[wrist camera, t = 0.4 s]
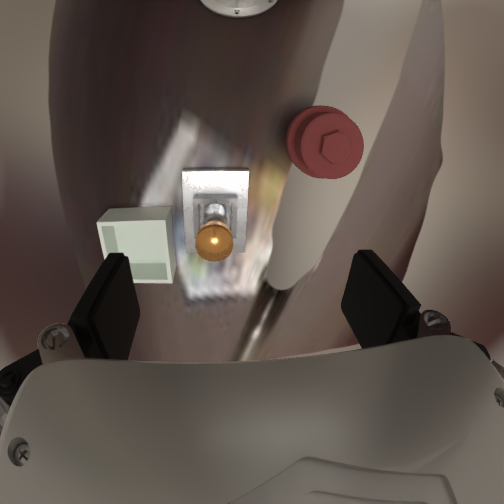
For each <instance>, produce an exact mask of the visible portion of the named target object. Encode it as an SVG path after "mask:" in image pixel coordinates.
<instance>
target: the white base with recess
mask: <svg viewBox="0 0 504 504" xmlns="http://www.w3.org/2000/svg"><path fill="white" fill-rule="evenodd" d="M248 182H249V170H248V168H188V169H183V171H182V185H183V209H184V227H185V242H186V253H198V252H197V251H196V248H195V241H196V235H197V231H198V229H199V228H200V227H201V226H202V223H203V216H204V211H205V209H206V207H207V206H209V205H211V204H220V205H222V206H223V207H224V208H225V210H226V213H227V226H228V227H229V228H230V230H231V232H232V235H233V250H232V252H245V242H246V221H247V201H248Z"/></svg>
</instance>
